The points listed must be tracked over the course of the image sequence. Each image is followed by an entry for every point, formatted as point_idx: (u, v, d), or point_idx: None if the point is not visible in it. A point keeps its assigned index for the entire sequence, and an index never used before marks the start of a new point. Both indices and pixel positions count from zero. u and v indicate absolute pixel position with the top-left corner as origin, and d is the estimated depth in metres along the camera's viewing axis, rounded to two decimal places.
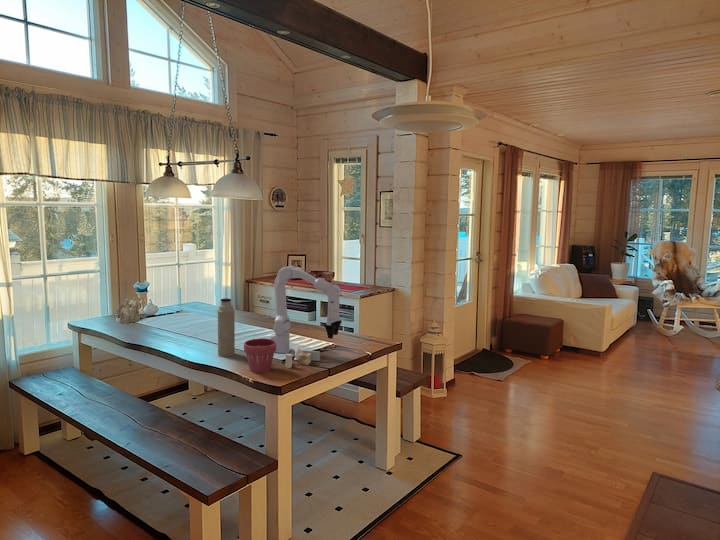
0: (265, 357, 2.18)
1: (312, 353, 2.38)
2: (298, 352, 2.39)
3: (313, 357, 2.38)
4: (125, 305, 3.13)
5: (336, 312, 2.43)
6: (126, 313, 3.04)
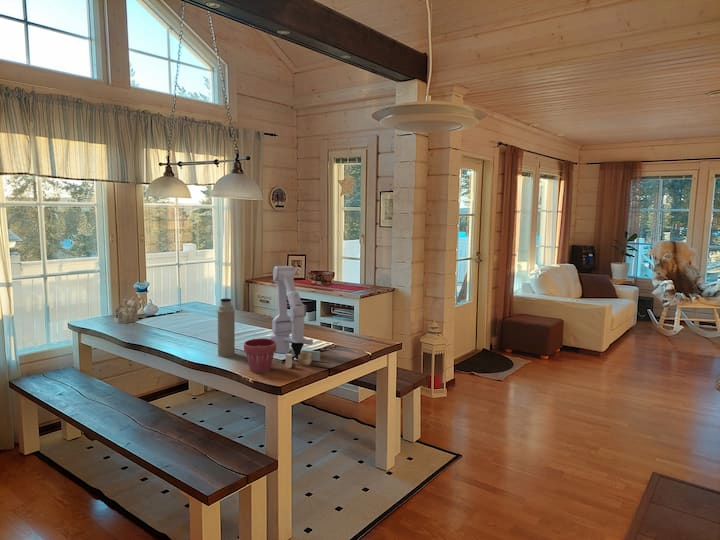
0: (265, 357, 2.18)
1: (312, 353, 2.38)
2: None
3: (313, 357, 2.38)
4: (123, 305, 3.12)
5: (292, 333, 2.32)
6: (124, 313, 3.04)
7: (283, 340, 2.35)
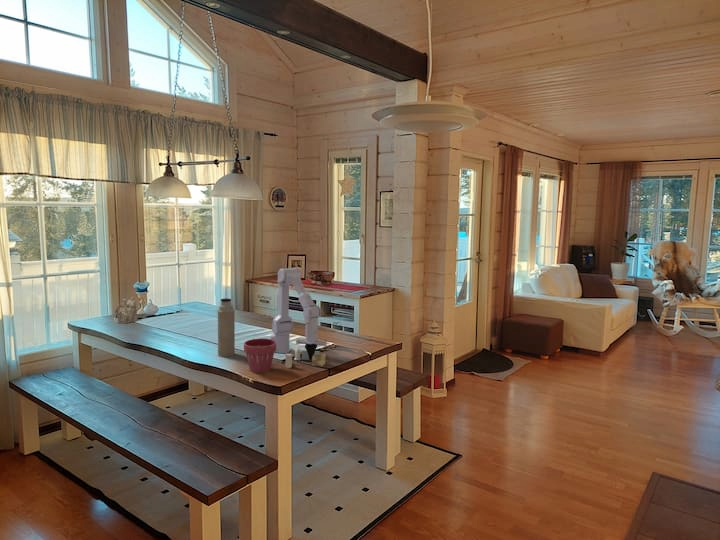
0: (265, 357, 2.18)
1: None
2: (298, 352, 2.39)
3: None
4: (123, 305, 3.12)
5: (306, 334, 2.31)
6: (124, 313, 3.04)
7: (297, 341, 2.33)
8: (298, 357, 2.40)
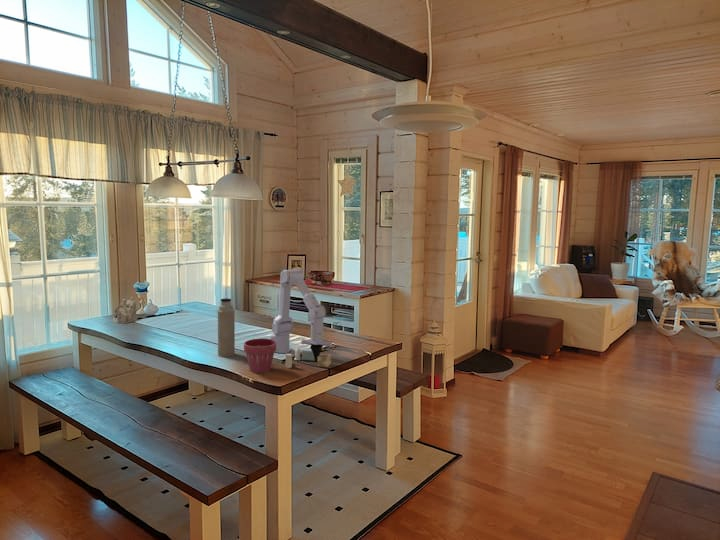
0: (265, 357, 2.18)
1: (312, 353, 2.38)
2: (298, 352, 2.39)
3: (313, 357, 2.38)
4: (122, 305, 3.12)
5: (312, 334, 2.30)
6: (124, 313, 3.04)
7: (302, 342, 2.33)
8: (298, 357, 2.40)
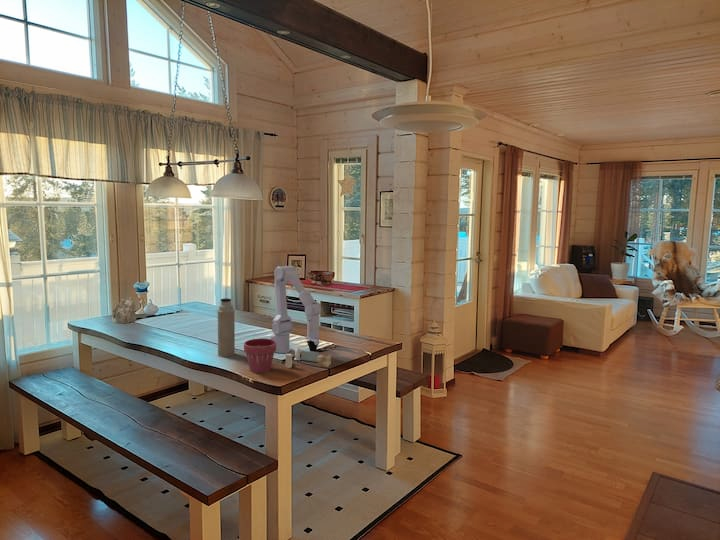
0: (265, 358, 2.18)
1: (311, 354, 2.37)
2: (298, 352, 2.39)
3: (312, 358, 2.37)
4: (121, 305, 3.12)
5: None
6: (122, 313, 3.04)
7: None
8: (298, 357, 2.40)
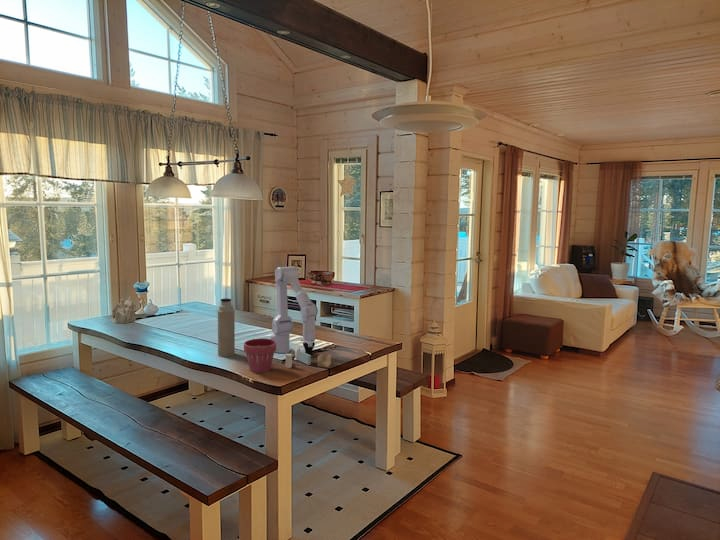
0: (265, 357, 2.18)
1: (304, 355, 2.34)
2: (298, 352, 2.39)
3: (305, 360, 2.34)
4: (120, 305, 3.12)
5: None
6: (122, 313, 3.03)
7: None
8: (298, 357, 2.40)
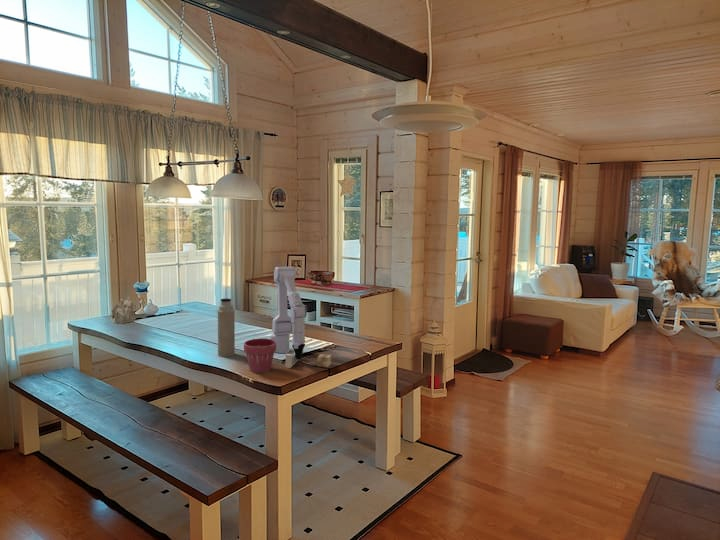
0: (265, 358, 2.18)
1: None
2: None
3: None
4: (120, 305, 3.12)
5: None
6: (121, 313, 3.03)
7: None
8: None
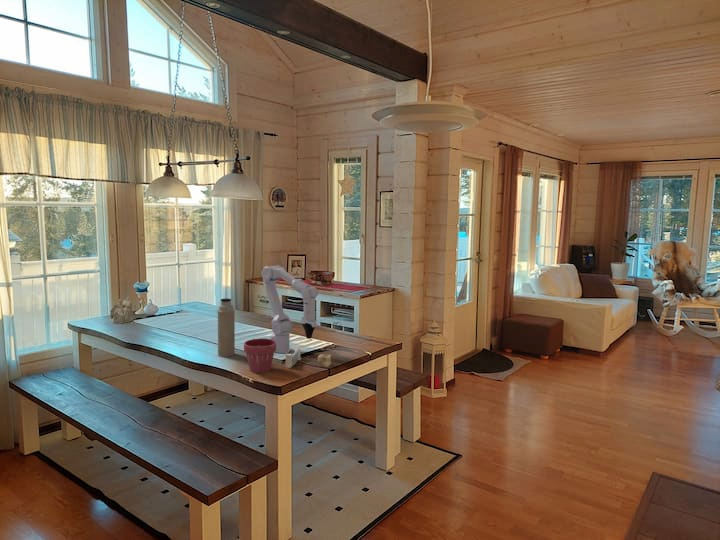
0: (265, 357, 2.18)
1: None
2: (298, 352, 2.39)
3: None
4: (118, 305, 3.11)
5: None
6: (120, 313, 3.03)
7: (302, 319, 2.48)
8: (298, 357, 2.40)
